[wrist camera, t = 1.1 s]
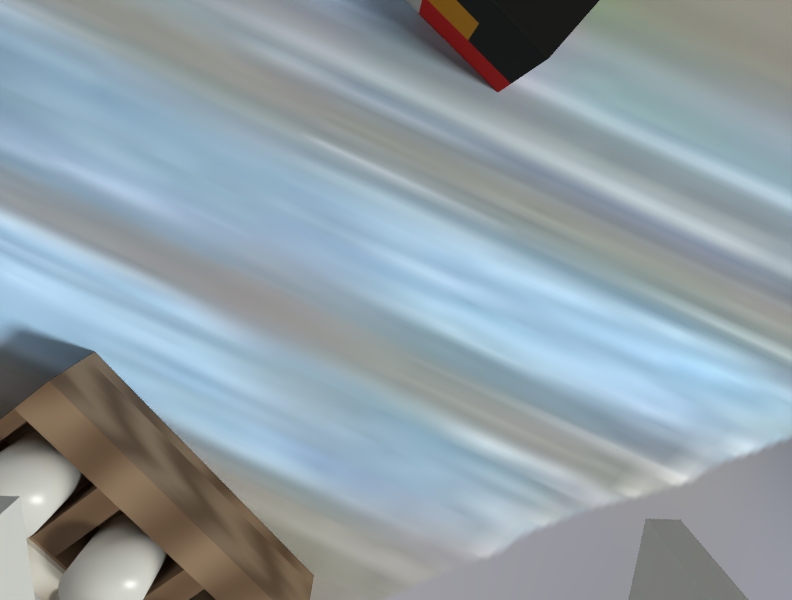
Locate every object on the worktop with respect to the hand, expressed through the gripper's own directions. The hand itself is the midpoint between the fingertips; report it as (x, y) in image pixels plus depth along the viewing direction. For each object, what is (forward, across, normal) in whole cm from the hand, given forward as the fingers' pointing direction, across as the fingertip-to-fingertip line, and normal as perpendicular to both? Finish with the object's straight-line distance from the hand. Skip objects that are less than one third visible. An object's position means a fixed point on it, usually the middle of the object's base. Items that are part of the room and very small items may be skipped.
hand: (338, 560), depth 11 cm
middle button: (+21, -16, -18) cm, 32 cm away
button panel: (+25, -16, -18) cm, 34 cm away
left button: (+21, -21, -12) cm, 32 cm away
